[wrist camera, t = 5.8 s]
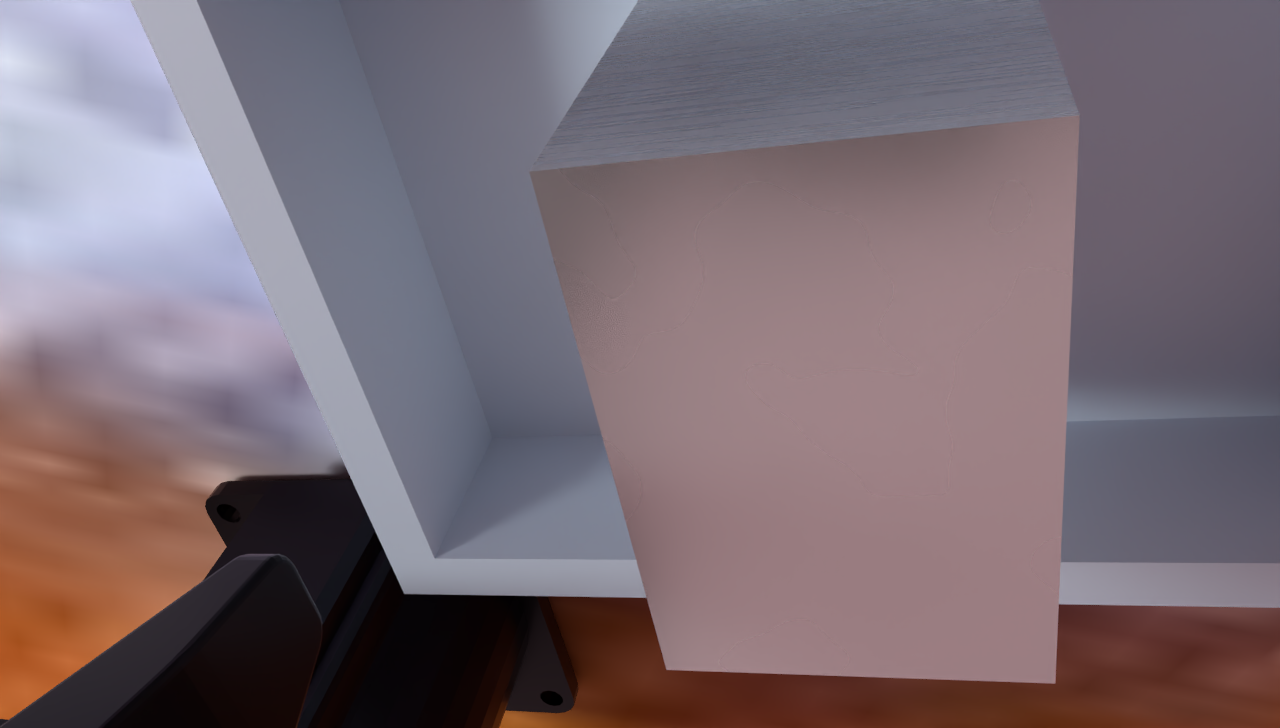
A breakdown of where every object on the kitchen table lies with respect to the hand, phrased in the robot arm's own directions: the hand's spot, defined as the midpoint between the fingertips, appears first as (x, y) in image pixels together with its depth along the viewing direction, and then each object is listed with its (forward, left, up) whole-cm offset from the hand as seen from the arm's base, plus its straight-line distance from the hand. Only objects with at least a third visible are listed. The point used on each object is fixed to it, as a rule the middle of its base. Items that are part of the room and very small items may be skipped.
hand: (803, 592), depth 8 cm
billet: (0, 0, -8) cm, 8 cm away
